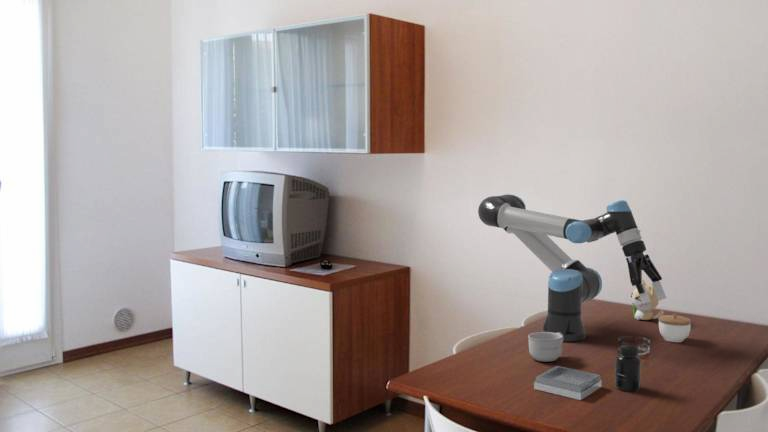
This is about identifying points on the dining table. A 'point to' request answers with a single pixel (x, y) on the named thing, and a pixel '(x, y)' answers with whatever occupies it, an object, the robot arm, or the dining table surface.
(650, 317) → the kitten
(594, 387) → the shadow box frame
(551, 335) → the teacup
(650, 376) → the dining table surface
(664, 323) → the lidded jar
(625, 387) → the supplement bottle
